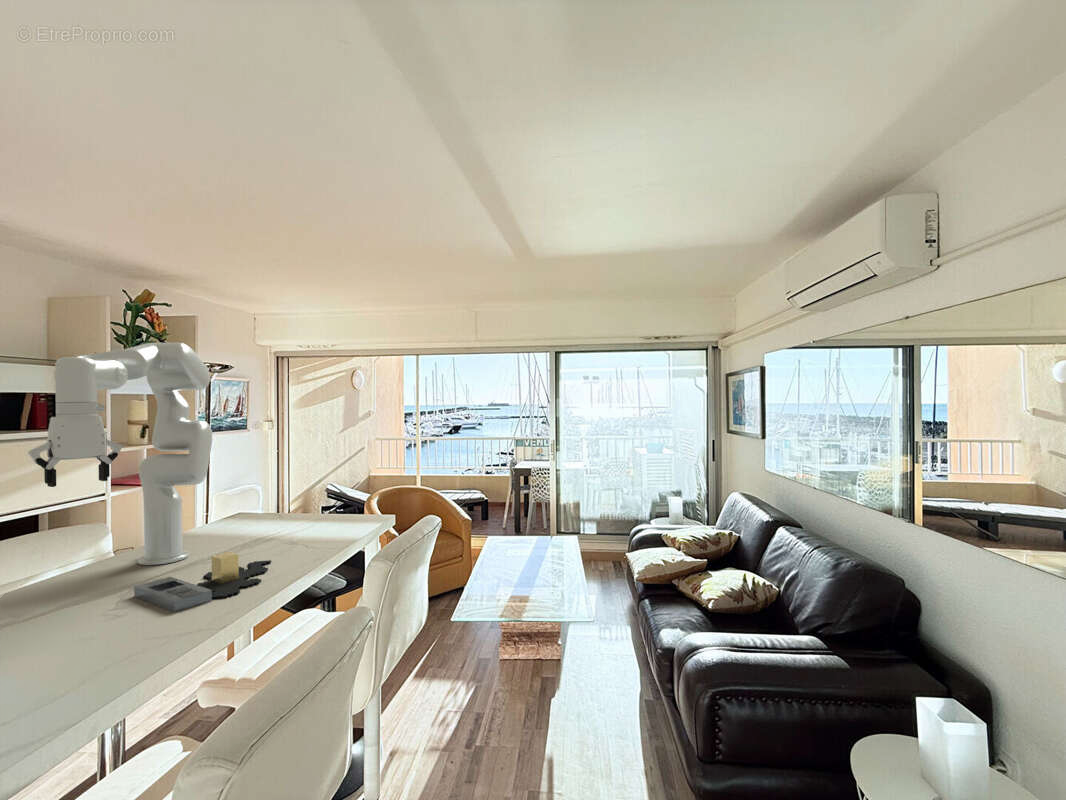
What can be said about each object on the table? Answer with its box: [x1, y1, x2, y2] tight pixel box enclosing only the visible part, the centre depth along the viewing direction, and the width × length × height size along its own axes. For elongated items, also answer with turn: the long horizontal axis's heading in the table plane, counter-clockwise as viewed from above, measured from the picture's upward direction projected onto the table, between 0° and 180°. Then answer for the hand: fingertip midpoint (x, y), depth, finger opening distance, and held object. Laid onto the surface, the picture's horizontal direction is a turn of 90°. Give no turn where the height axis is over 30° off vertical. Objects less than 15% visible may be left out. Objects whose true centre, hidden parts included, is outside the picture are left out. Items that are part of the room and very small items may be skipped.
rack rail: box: [133, 576, 213, 613], centre depth 129 cm, size 20×8×3 cm, turn 58°
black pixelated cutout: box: [196, 559, 272, 601], centre depth 143 cm, size 16×1×30 cm
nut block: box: [211, 551, 240, 584], centre depth 141 cm, size 4×4×7 cm
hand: (78, 483), depth 127 cm, fingers open, 9 cm apart
